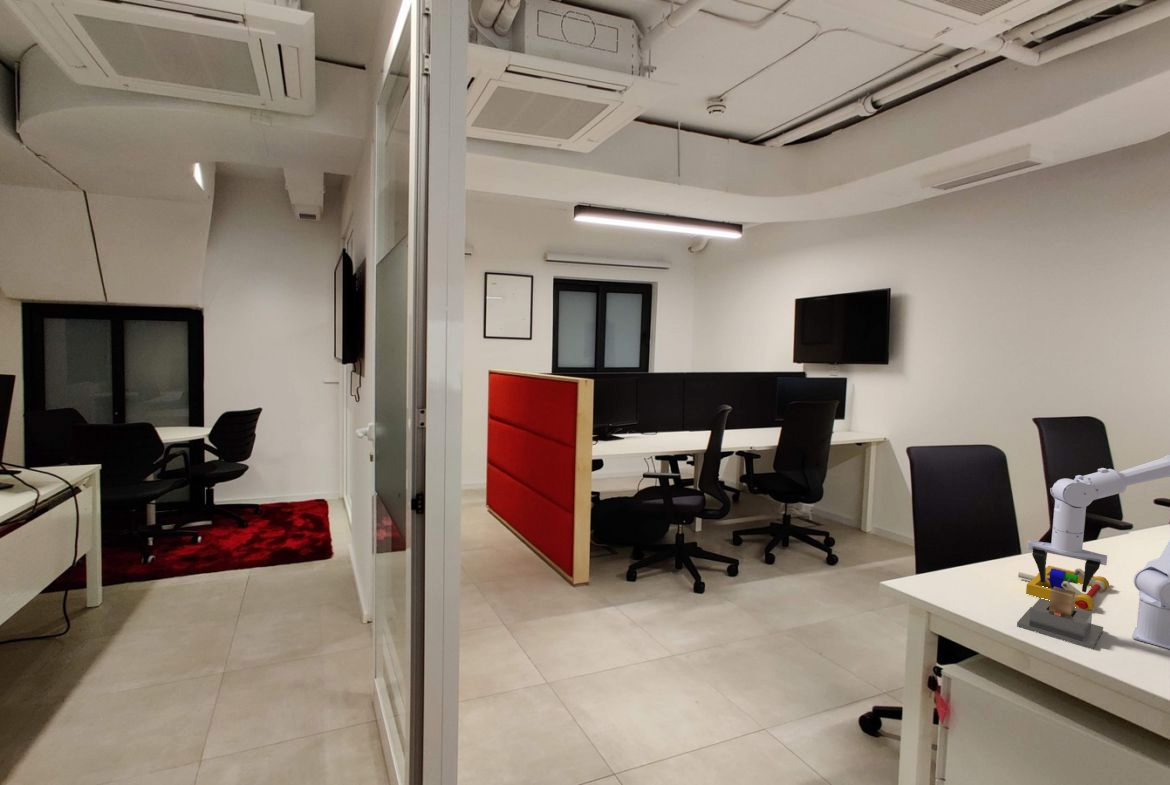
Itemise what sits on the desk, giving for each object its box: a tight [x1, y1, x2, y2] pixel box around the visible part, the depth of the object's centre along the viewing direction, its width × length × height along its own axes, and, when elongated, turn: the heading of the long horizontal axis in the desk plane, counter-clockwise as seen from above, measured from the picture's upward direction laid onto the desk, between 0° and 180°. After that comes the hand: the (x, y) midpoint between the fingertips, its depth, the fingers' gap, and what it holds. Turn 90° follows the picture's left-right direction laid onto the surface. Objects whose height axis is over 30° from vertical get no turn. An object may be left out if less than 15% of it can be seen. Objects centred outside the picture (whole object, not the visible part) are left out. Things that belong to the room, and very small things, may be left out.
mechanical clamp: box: [1017, 565, 1110, 612], centre depth 166 cm, size 18×6×30 cm
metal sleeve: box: [1016, 598, 1104, 650], centre depth 140 cm, size 14×14×5 cm
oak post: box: [1049, 587, 1075, 617], centre depth 140 cm, size 4×4×8 cm
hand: (1063, 586), depth 139 cm, fingers open, 7 cm apart
